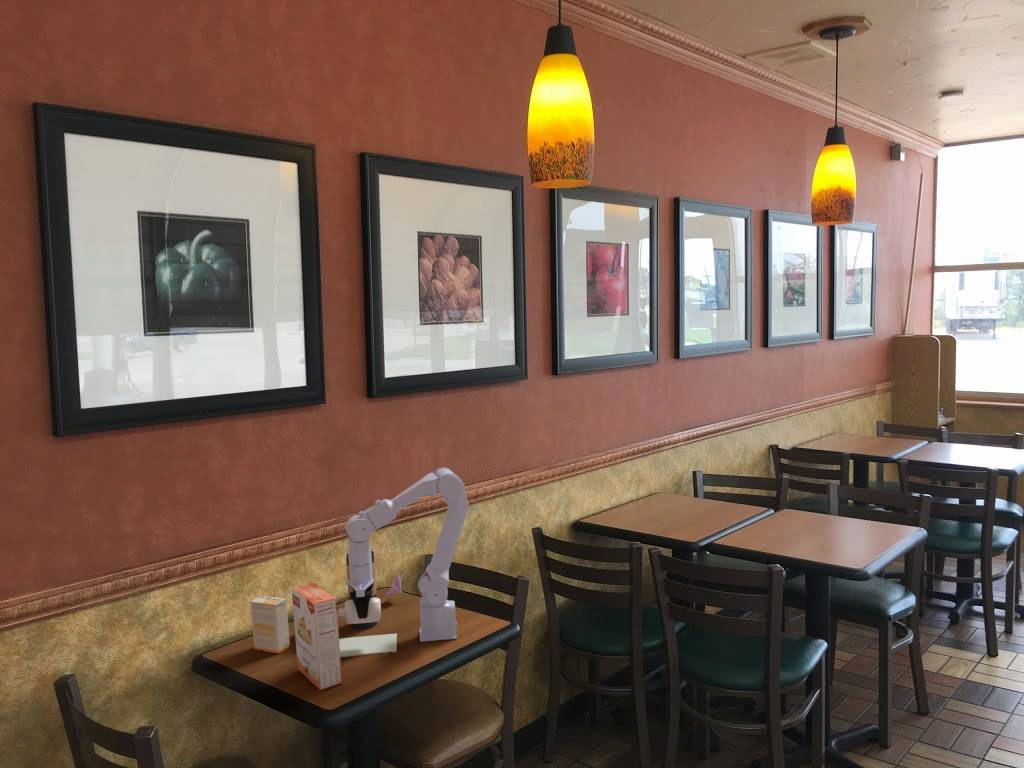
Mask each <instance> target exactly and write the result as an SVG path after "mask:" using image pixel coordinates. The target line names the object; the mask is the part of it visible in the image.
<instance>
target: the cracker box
mask: <svg viewBox="0 0 1024 768" xmlns="http://www.w3.org/2000/svg"><path fill="white" fill-rule="evenodd" d="M291 597H292V608H293V609H292V611H293V622H294V633H295V635H294V637H295V648H296V657H297V658H296V661H297V670H298V671H299V672H300V673H301V674H302V675H304V677H306V679H307V680H308V681H310V682H311V684H313V685H314V686H315V687H316V688H317V689H318V690H319V691H322V690H325V689H329V688H333V687H335V686H338V685H340V684H342V683H343V679H342V678H343V677H342V676H343V675H342V662H341V661H342V660H341V657H340V646H339V639H340V635H339V634H340V633H339V621H338V619H339V618H338V617H339V616H338V606H337V605H338V604H337V598H336V597H334V596H333V595H332V594H330V593H328V592H327V591H326V590H324V589H322V588H321V587H320V586H318V585H317V584H315V582H312V583H309V584H303V585H299V586H295V587H292V588H291Z"/></svg>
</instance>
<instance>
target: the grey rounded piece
mask: <svg viewBox="0 0 1024 768" xmlns="http://www.w3.org/2000/svg"><path fill="white" fill-rule="evenodd" d="M380 602H381V599H380V598H379V597H377V598H370V601H369V608H368V616H367V618H363V619H359V617H358V614H357V611H356V607H355V604H354V602H353V600H352V599H351V600H349V599H347V600H346V601H344V608H338V611H337V615H338V617H345V623H346V624H349V625H351V624H358V623H369V622H377V623H378V622H380V621H381V620H382V607H381V605H382V604H381V603H380Z"/></svg>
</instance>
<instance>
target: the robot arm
mask: <svg viewBox="0 0 1024 768" xmlns="http://www.w3.org/2000/svg"><path fill="white" fill-rule="evenodd" d="M438 493H439V494H440V495H441V496H442V497H443V500H444V501H445V503H446V505H447V506H448V507H447V511H446V514H445V517H444V521H443V522H442V527H441V530H440V533H439V536H438V538H437V541H436V544H435V549H434V551H433V554H432V557H431V560H430V563H429V565H428V566H426V568H425V571H424V573H423V574H422V575H421V576H420V577H419V579H418V582H417V589H418V591H419V592H420V594H421V598H420V599H419V615H420V617H419V618H420V619H419V620H420V628H419V631H418V632H419V642H422V643H424V642H434V641H444V640H456V639H457V628H458V622H457V621H456V620H457V619H456V605H455V603H456V602H455V600H448V597H449V596H448V595H449V592H448V591H449V590H448V585H449V581H450V577H449V574H450V573H449V571H450V567H451V564H452V561H453V559H454V558H453V557H454V555H455V552H456V549H457V545H458V543H459V539H460V536H461V533H462V530H463V528H464V527H463V526H464V525H465V520H466V517H467V514H468V512H469V510H470V509H469V507H470V503H469V500H468V495H467V491H466V485H465V483H464V482H463V480H462V479H461V478H460V476H458V475H457V474H455V473H454V472H453V471H452V470H451V469H450V468H448V467H438V468H437V469H435V471H433V472H430V473H428V474H426V475H425V476H423V477H422V478H421V479H419V480H418V481H417V482H415V483H413V484H412V485H411V486H409V487H408V488H406V489H405V490H403V491H401V492H400V493H399V494H398V495H396V496H395V497H394V498H392V499H386V498H383V499H382V500H380V499H377V500H375V501H374V503H375V504H374V505H372V506H371V507H368V508H367V509H365V511H363V510H361V511H359V512H358V514H359V515H352V516H351V517H350V518H349V519H348V520H347V522H346V523H345V527H344V528H345V532H346V533H347V534H348V536H347V544H348V546H347V553H348V556H349V572H350V580H347V579H346V580H345V586H348V585H351V587H352V589H353V591H352V592H350V597H351V599H352V600H353V602H354V604H355V607H356V611H357V614H358V617H359V619H363V618H367V616H368V608H369V601H370V598H371V596H372V593H373V591H371V590H372V587H373V584H374V579H373V575H372V559H371V551H372V546H371V545H372V544H371V541H370V540H371V539H370V537H371V535H372V533H374V532H376V531H377V530H379V529H380V528H382V527H384V526H385V525H387V524H388V523H391V522H392V521H393V520H394V519H396V518H397V515H398V512H399V511H400V510H402V509H404V508H405V507H407V506H409V505H410V504H413V503H414V502H416V501H418V500H419V499H421V498H423V497H425V496H427V497H438V496H439V495H438Z"/></svg>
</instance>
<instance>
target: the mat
mask: <svg viewBox="0 0 1024 768" xmlns="http://www.w3.org/2000/svg"><path fill="white" fill-rule="evenodd" d="M397 638H398V633H397V632H396V633H389V634H388V633H387V634H376V635H375V634H373V635H366V636H365V635H363V636H354V637H344V638H340V637H339V646H340V658H347V657H349V658H350V657H357V656H358V657H359V656H370V655H381V653H382V654H390V653H389V652H392V653H397V646H398V645H397V644H398V643H397V641H398V639H397Z"/></svg>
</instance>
